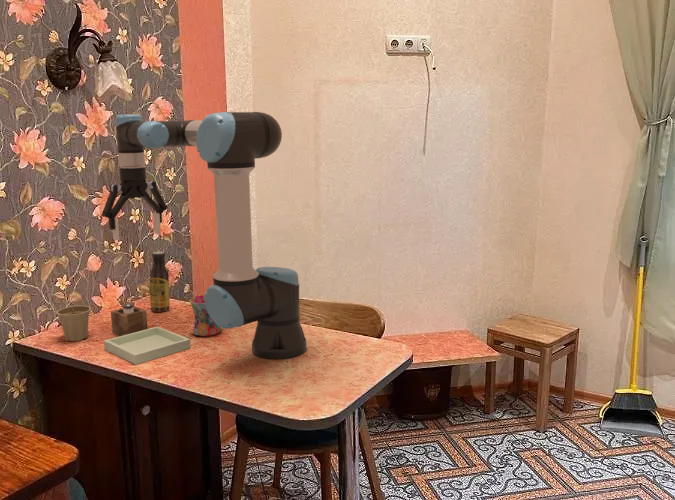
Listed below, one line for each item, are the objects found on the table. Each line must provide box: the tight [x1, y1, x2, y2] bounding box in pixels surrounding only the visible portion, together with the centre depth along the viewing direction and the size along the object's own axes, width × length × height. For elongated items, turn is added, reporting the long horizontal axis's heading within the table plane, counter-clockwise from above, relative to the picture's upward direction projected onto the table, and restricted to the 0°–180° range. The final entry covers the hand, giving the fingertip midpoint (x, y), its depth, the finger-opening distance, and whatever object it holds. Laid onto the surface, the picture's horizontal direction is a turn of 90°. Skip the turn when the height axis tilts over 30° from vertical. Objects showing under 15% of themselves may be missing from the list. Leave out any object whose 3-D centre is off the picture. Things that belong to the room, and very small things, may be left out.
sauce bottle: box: [149, 250, 171, 313], centre depth 221 cm, size 6×6×20 cm
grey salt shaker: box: [121, 301, 135, 314], centre depth 199 cm, size 4×4×9 cm
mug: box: [188, 294, 222, 337], centre depth 199 cm, size 12×9×11 cm
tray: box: [103, 326, 192, 366], centre depth 186 cm, size 17×17×3 cm
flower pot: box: [56, 305, 92, 342], centre depth 195 cm, size 9×9×9 cm
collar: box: [110, 305, 149, 337], centre depth 199 cm, size 8×8×7 cm
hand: (137, 236), depth 203 cm, fingers open, 13 cm apart
